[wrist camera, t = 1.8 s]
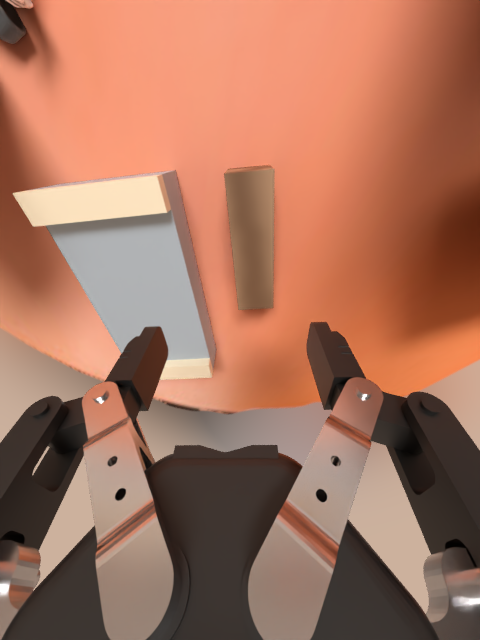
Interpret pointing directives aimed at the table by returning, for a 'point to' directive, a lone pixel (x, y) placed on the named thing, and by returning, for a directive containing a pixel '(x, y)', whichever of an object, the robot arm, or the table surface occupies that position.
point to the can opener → (12, 20)
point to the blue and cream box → (132, 260)
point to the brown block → (252, 233)
